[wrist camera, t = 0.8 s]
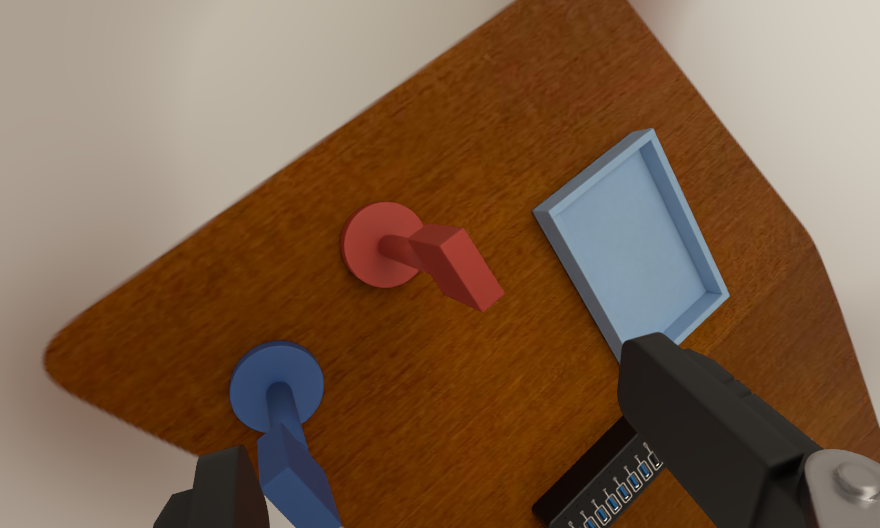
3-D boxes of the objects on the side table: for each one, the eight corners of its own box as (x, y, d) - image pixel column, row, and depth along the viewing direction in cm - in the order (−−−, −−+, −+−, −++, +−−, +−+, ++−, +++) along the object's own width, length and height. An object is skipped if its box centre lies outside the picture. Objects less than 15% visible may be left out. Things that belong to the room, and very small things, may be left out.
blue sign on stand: (210, 379, 29) (187, 513, 17) (286, 322, 30) (318, 407, 18) (267, 442, 31) (286, 608, 18) (338, 386, 32) (401, 504, 19)
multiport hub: (530, 508, 38) (547, 527, 36) (658, 380, 41) (680, 390, 39) (558, 545, 40) (576, 564, 38) (680, 417, 43) (703, 429, 41)
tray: (531, 210, 35) (548, 211, 34) (631, 131, 38) (653, 127, 36) (623, 371, 40) (642, 379, 38) (707, 291, 42) (730, 296, 40)
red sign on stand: (322, 234, 30) (380, 256, 18) (391, 185, 32) (490, 174, 19) (372, 301, 32) (456, 365, 20) (436, 252, 33) (554, 282, 21)
